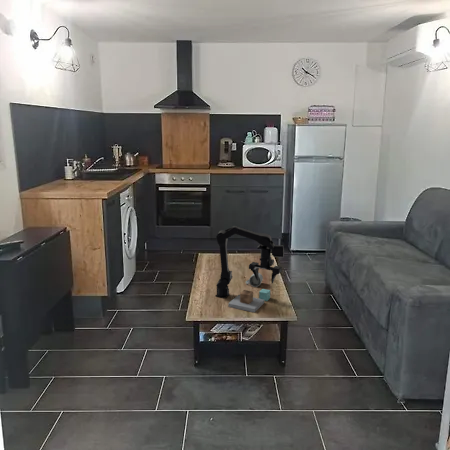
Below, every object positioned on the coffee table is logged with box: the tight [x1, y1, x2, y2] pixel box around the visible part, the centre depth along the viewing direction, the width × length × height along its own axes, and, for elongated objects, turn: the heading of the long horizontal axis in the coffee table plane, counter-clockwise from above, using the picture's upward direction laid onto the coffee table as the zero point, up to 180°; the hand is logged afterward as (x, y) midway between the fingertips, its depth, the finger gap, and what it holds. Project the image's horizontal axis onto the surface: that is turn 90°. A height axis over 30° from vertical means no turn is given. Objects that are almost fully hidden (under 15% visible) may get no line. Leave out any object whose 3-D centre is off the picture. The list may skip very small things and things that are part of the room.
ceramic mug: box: [245, 272, 264, 288], centre depth 279 cm, size 11×8×8 cm
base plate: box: [227, 294, 265, 313], centre depth 250 cm, size 16×14×2 cm
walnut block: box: [239, 289, 254, 304], centre depth 249 cm, size 6×6×6 cm
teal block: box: [258, 288, 271, 302], centre depth 258 cm, size 5×5×5 cm
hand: (265, 281), depth 255 cm, fingers open, 9 cm apart
